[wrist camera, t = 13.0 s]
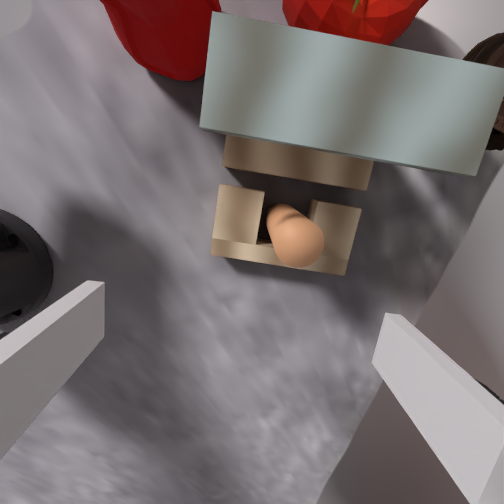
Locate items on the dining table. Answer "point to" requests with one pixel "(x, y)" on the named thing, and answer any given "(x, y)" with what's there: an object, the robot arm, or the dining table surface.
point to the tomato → (354, 17)
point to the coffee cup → (498, 55)
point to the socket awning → (333, 122)
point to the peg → (293, 236)
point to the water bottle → (165, 33)
